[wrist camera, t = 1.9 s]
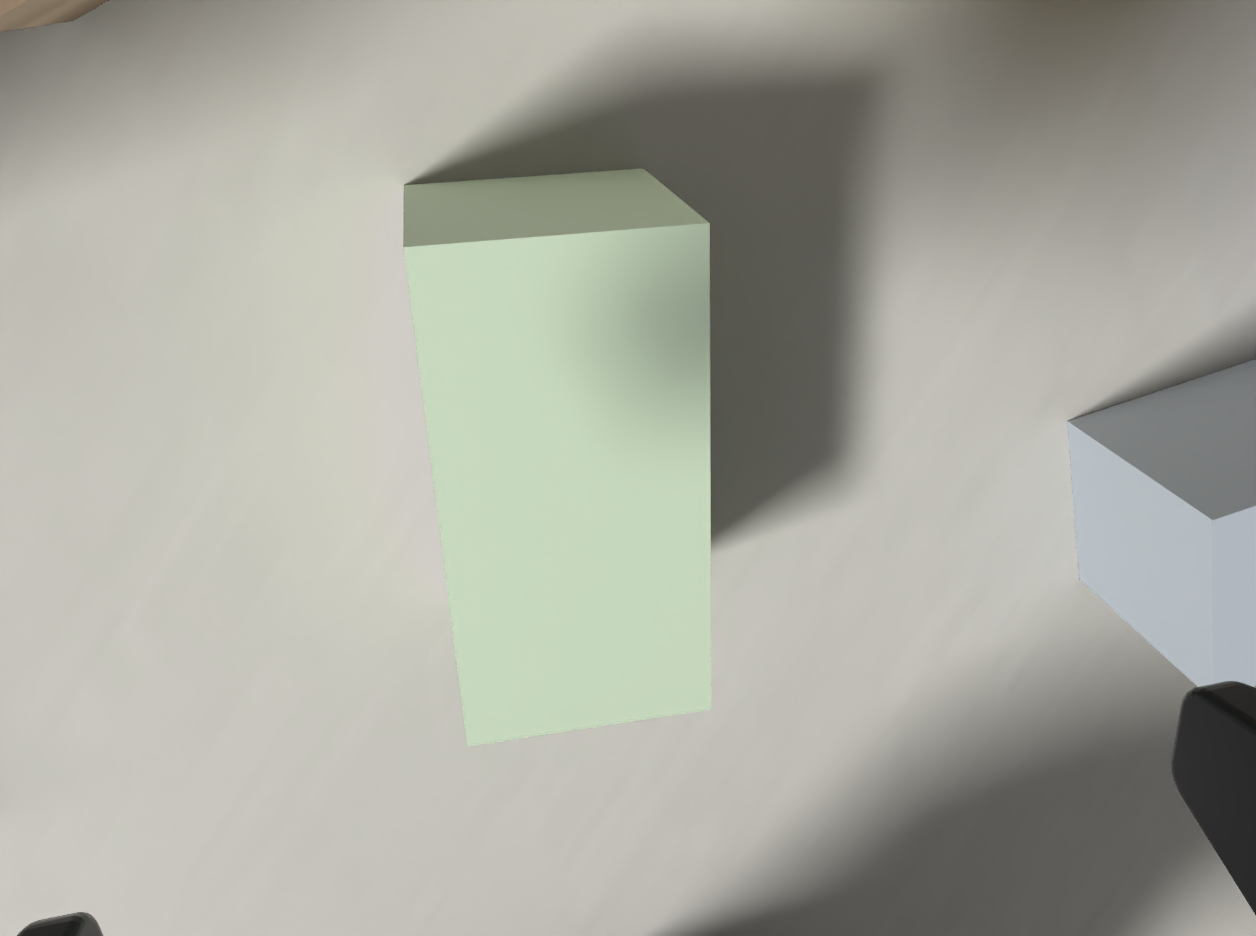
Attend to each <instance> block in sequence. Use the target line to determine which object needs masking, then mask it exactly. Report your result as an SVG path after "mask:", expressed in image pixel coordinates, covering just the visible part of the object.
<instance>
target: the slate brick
mask: <svg viewBox="0 0 1256 936" xmlns="http://www.w3.org/2000/svg"><path fill="white" fill-rule="evenodd" d="M1067 426H1068V439H1069V453H1070V466H1071V480H1072V494H1073V507H1074V521H1075V534H1076V548H1077V562H1078V575H1079V580H1080V581H1081V582H1082V583H1084V584H1085V585H1086V586H1087V587H1088V588H1089V589H1090V590H1091V591H1092V592H1093V593H1095V594H1096V595H1097V596H1098V597H1099V598H1100V599H1101V600H1102V601H1103V602H1105V603H1106V604H1107V605H1108V606H1109V607H1110V608H1111V609H1112V610H1113V611H1114V612H1116V613H1117V614H1118V615H1119V616H1120V617H1121V618H1122V619H1123V620H1124V621H1126V622H1127V623H1128V624H1129V625H1130V626H1131V627H1132V628H1133V629H1134V630H1136V631H1137V632H1138V633H1139V634H1140V635H1141V636H1142V637H1143V638H1144V639H1145V640H1147V641H1148V642H1149V643H1150V644H1151V645H1152V646H1153V647H1154V648H1155V649H1157V650H1158V651H1159V652H1160V653H1161V654H1162V655H1163V656H1164V657H1165V658H1166V659H1168V660H1169V661H1170V662H1171V663H1172V664H1173V665H1174V666H1175V667H1176V668H1178V669H1179V670H1180V671H1181V672H1182V673H1183V674H1184V675H1185V676H1186V677H1187V678H1189V679H1190V680H1191V681H1192V682H1193V683H1194V684H1195V685H1196V686H1197V687H1200V686H1205V685H1210V684H1215V683H1220V682H1225V681H1237V682H1241V683H1244V684H1247V685H1250V686H1252V687H1254V686H1256V359H1254V360H1251V361H1248V362H1245V363H1242V364H1239V365H1236V366H1233V367H1230V368H1227V369H1224V370H1221V371H1218V372H1215V373H1212V374H1209V375H1206V376H1202V377H1199V378H1196V379H1193V380H1190V381H1187V382H1184V383H1181V384H1178V385H1175V386H1172V387H1169V388H1166V389H1163V390H1160V391H1157V392H1154V393H1151V394H1148V395H1145V396H1142V397H1139V398H1136V399H1133V400H1130V401H1127V402H1124V403H1121V404H1118V405H1115V406H1112V407H1108V408H1105V409H1102V410H1099V411H1096V412H1093V413H1090V414H1087V415H1084V416H1081V417H1078V418H1075V419H1072V420H1069V421H1067Z"/></svg>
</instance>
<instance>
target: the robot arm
mask: <svg viewBox="0 0 1256 936" xmlns="http://www.w3.org/2000/svg"><path fill="white" fill-rule="evenodd" d="M1171 764H1172V773H1173V777H1174V781H1175V783H1176V786H1177V788H1178V790H1179V792H1180V794H1181V796H1182V797H1183V799H1184V801H1185V802H1186V804H1187V805H1188V807H1189V809H1190V810H1191V812H1192V813H1193V815H1194V817H1195V818H1196V820H1197V821H1198V823H1199V825H1200V826H1201V828H1202V830H1203V831H1204V833H1205V834H1206V836H1207V838H1208V839H1209V841H1210V842H1211V844H1212V846H1213V847H1214V849H1215V850H1216V852H1217V854H1218V855H1219V857H1220V858H1221V860H1222V862H1223V863H1224V865H1225V867H1226V868H1227V870H1228V871H1229V873H1230V875H1231V876H1232V878H1233V879H1234V881H1235V883H1236V884H1237V886H1238V887H1239V889H1240V891H1241V892H1242V894H1243V895H1244V897H1245V899H1246V900H1247V902H1248V904H1249V905H1250V907H1251V908H1252V910H1253V912H1254V913H1255V915H1256V688H1255V687H1252V686H1250V685H1247V684H1244V683H1241V682H1237V681H1225V682H1220V683H1215V684H1210V685H1205V686H1200V687H1196V688H1193V689H1191V690H1189V691H1188V692H1187V694H1186V695H1185V696H1184V698H1183V700H1182V704H1181V709H1180V715H1179V721H1178V726H1177V732H1176V738H1175V743H1174V749H1173V755H1172V763H1171ZM17 936H103V934H102V932H101V929H100V927H99V925H98V923H97V921H96V920H95V918H94V917H93V916H92V915H90V914H88V913H84V912H77V913H72V914H67V915H63V916H58V917H53V918H48V919H43V920H38V921H36V922H33V923H31V924H29V925H28V926H27V927H25V928H24V929H23V930H22V931H21V932H20V933H19V934H18V935H17Z"/></svg>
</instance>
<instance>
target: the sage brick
mask: <svg viewBox="0 0 1256 936" xmlns="http://www.w3.org/2000/svg"><path fill="white" fill-rule="evenodd" d="M403 247H404V255H405V263H406V271H407V279H408V287H409V295H410V302H411V310H412V318H413V326H414V334H415V342H416V349H417V357H418V365H419V373H420V381H421V389H422V397H423V404H424V412H425V420H426V428H427V436H428V444H429V451H430V459H431V467H432V475H433V483H434V491H435V499H436V506H437V514H438V522H439V530H440V538H441V546H442V553H443V561H444V569H445V577H446V585H447V593H448V601H449V608H450V616H451V624H452V632H453V640H454V648H455V655H456V663H457V671H458V679H459V687H460V695H461V703H462V710H463V718H464V726H465V734H466V742H467V746H474V745H480V744H487V743H494V742H500V741H507V740H513V739H520V738H527V737H533V736H540V735H546V734H553V733H560V732H566V731H573V730H580V729H586V728H593V727H599V726H606V725H613V724H619V723H626V722H632V721H639V720H646V719H652V718H659V717H665V716H672V715H679V714H685V713H692V712H698V711H705V710H711V469H710V223H709V222H708V221H707V220H705V219H704V218H703V217H702V216H701V215H699V214H698V213H697V212H696V211H695V210H693V209H692V208H691V207H690V206H688V205H687V204H686V203H685V202H684V201H682V200H681V199H680V198H679V197H678V196H676V195H675V194H674V193H673V192H672V191H670V190H669V189H668V188H667V187H666V186H664V185H663V184H662V183H661V182H659V181H658V180H657V179H656V178H655V177H653V176H652V175H651V174H650V173H649V172H647V171H646V170H645V169H644V168H640V169H626V170H612V171H597V172H583V173H569V174H555V175H540V176H526V177H512V178H498V179H484V180H469V181H455V182H441V183H427V184H413V185H404V244H403Z"/></svg>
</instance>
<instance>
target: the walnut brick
mask: <svg viewBox="0 0 1256 936" xmlns="http://www.w3.org/2000/svg"><path fill="white" fill-rule="evenodd" d="M107 1H109V0H0V32H4V31H10V30H17V29H23V28H30V27H36V26H42V25H49V24H55V23H62V22H68V21H73V20H75V19H77V18H79V17H80V16H82V15H84V14H86V13H87V12H89V11H91V10H93V9H95V8H96V7H98V6H100V5H102V4H103V3H105V2H107Z"/></svg>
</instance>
